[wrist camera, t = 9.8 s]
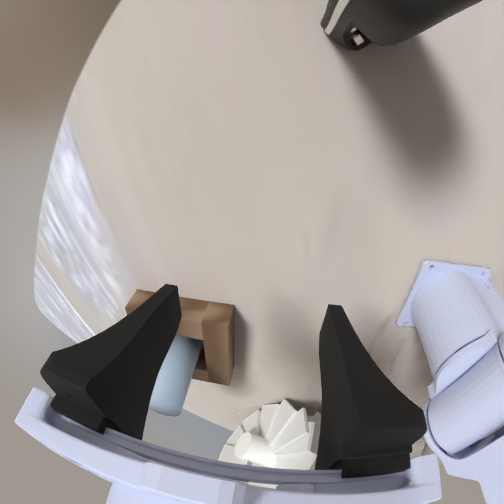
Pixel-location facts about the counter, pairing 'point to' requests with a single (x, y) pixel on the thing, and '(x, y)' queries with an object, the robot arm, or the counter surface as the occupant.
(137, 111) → the counter surface
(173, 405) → the peg
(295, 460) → the spiral staircase
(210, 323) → the socket block
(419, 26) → the battery charger
